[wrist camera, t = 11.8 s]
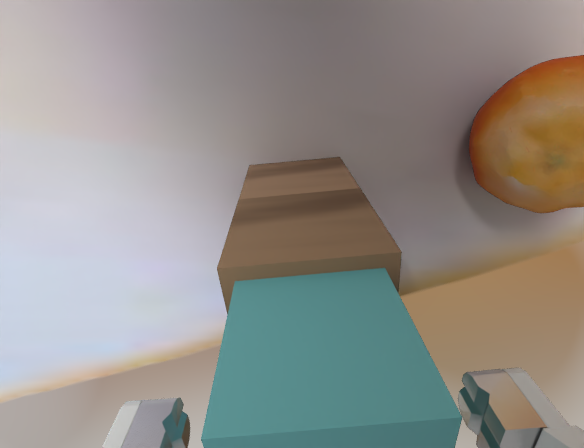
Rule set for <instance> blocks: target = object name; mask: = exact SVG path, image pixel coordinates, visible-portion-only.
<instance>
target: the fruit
mask: <svg viewBox="0 0 584 448" xmlns="http://www.w3.org/2000/svg"><path fill="white" fill-rule="evenodd" d="M469 153H470V158H471V162H472V166H473V171H474V176H475V179H476V181H477V183H478V184H479V185H480V186H481V187H483V188H484V189H485V190H486V191H488V192H489V193H491V194H492V195H494V196H496V197H497V198H499V199H500V200H502V201H503V202H505V203H508V204H511V205H514V206H517V207H521V208H524V209H527V210H530V211H533V212H537V213H550V212H555V211H558V210H560V209H564V208H573V207H584V55H581V56H573V57H565V58H558V59H553V60H549V61H546V62H542V63H540V64H537V65H535V66H533V67H530V68H528V69H527V70H525V71H524V72H522V73H520V74H519V75H517V76H516V77H514V78H512V79H511V80H509V81H508V82H507V83H505V84H504V85H503V86H502V87H501V88H500V89H499V90H498V91H496V92H495V93H494V94H493V95H492V96H491V97H490V98H489V99H488V101H487V102H486V103H485V104H484V105H483V106H482V107H481V108H480V110H479V111H478V113H477V114H476V116H475V118H474V121H473V125H472V129H471V133H470V141H469Z"/></svg>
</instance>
